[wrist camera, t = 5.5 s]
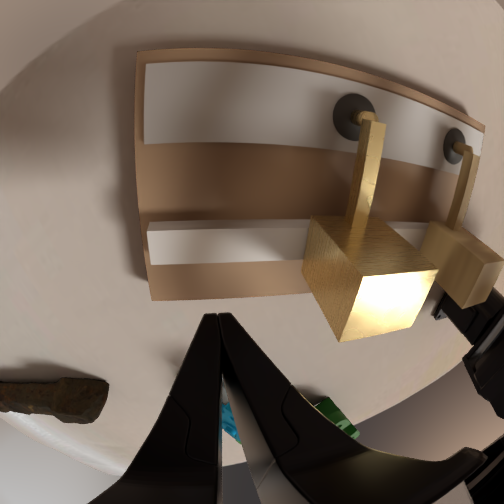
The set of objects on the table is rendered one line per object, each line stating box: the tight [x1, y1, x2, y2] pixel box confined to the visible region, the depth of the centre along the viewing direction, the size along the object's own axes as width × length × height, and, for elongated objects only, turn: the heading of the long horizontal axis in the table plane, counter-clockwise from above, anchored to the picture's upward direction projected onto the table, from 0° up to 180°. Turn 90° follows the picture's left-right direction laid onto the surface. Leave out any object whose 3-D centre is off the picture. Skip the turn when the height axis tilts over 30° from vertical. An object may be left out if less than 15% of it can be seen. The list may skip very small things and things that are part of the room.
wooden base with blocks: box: [134, 48, 504, 309], centre depth 12 cm, size 22×13×8 cm, turn 86°
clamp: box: [315, 397, 360, 439], centre depth 28 cm, size 12×6×9 cm, turn 22°
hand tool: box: [0, 378, 109, 424], centre depth 19 cm, size 19×4×5 cm, turn 99°
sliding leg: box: [301, 110, 439, 342], centre depth 11 cm, size 4×8×6 cm, turn 176°
